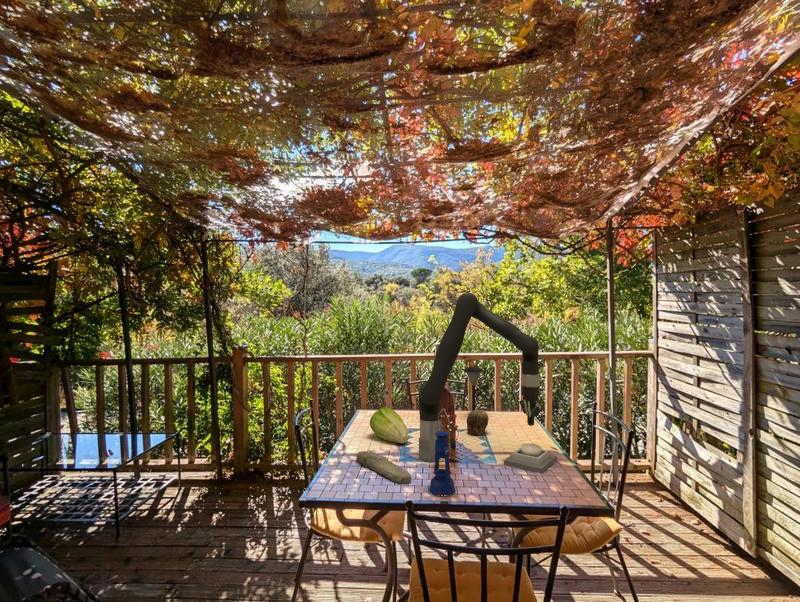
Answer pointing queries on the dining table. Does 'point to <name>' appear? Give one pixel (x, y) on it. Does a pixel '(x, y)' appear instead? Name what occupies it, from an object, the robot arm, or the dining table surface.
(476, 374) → the solar garden light
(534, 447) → the button
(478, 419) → the brown rounded block
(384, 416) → the lettuce
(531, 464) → the button plate
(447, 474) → the lantern
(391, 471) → the long grey stone
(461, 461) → the dining table surface
